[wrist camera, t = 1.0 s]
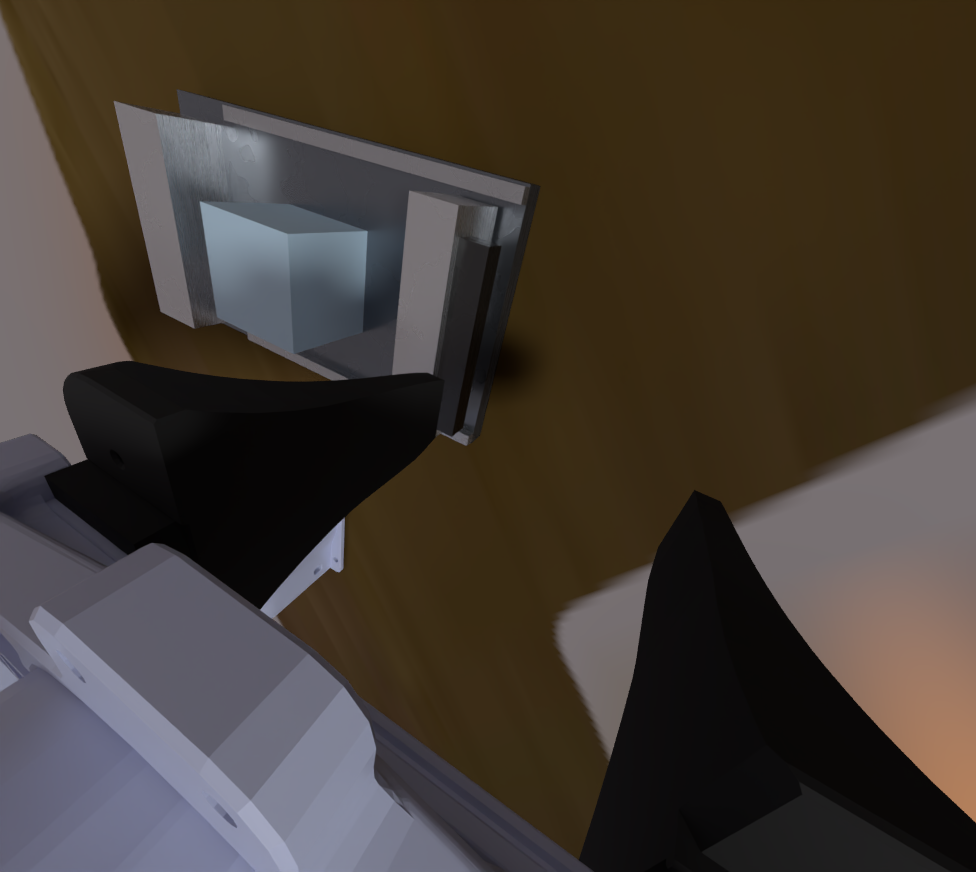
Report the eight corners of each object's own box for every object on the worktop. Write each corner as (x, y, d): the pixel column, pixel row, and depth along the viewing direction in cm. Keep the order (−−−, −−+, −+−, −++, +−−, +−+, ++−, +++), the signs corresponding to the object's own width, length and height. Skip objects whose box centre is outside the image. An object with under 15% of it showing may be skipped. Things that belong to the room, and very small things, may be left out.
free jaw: (475, 431, 21) (443, 458, 19) (423, 407, 22) (386, 430, 20) (525, 215, 16) (490, 214, 13) (454, 194, 17) (409, 190, 14)
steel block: (362, 332, 22) (293, 354, 19) (293, 302, 24) (216, 317, 20) (367, 231, 20) (287, 234, 16) (289, 204, 21) (199, 201, 17)
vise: (479, 435, 23) (440, 470, 20) (226, 315, 28) (164, 327, 25) (540, 185, 16) (495, 178, 13) (196, 94, 22) (107, 73, 19)
